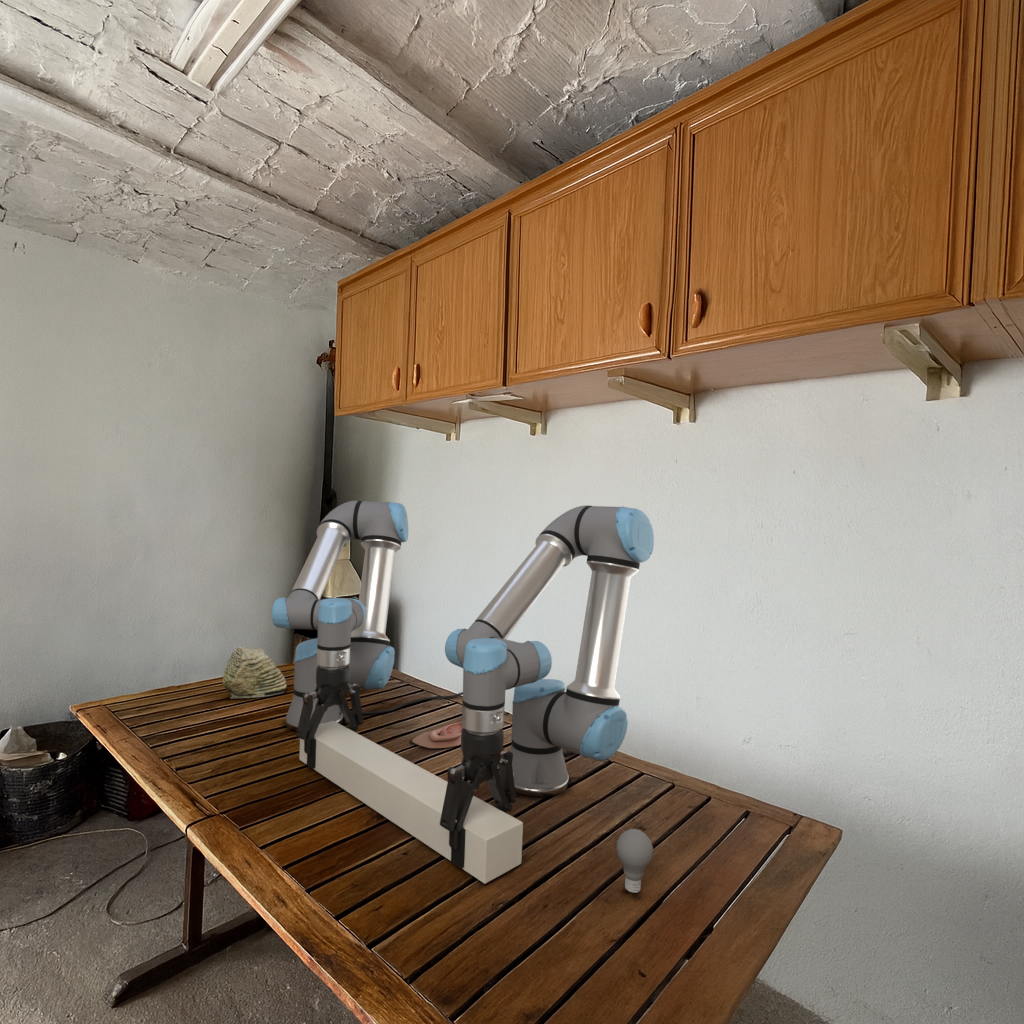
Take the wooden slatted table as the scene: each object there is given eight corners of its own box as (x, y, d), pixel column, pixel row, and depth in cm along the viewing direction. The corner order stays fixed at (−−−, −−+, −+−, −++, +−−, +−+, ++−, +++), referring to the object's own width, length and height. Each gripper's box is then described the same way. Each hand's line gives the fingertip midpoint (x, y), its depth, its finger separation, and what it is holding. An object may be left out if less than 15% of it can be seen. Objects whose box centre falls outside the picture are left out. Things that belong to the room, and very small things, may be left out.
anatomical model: (408, 730, 163) (423, 715, 174) (407, 745, 163) (422, 730, 174) (457, 736, 160) (469, 721, 171) (457, 752, 160) (469, 735, 171)
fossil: (218, 695, 195) (220, 647, 195) (278, 685, 208) (279, 640, 207) (228, 703, 189) (230, 653, 188) (289, 692, 201) (290, 645, 201)
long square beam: (299, 759, 150) (300, 728, 150) (332, 750, 156) (333, 720, 156) (484, 884, 105) (486, 840, 104) (521, 863, 111) (523, 822, 111)
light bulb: (610, 879, 108) (613, 822, 108) (644, 879, 109) (647, 822, 109) (619, 902, 102) (622, 840, 102) (655, 901, 103) (658, 840, 103)
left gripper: (297, 677, 138) (293, 779, 138) (381, 661, 153) (378, 753, 154) (281, 669, 143) (278, 768, 144) (364, 655, 158) (361, 744, 159)
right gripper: (449, 750, 102) (444, 889, 102) (539, 720, 117) (534, 841, 117) (420, 736, 107) (415, 868, 107) (510, 709, 122) (506, 825, 123)
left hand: (329, 760), depth 149 cm, fingers closed on long square beam, 9 cm apart
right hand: (477, 854), depth 112 cm, fingers closed on long square beam, 9 cm apart
